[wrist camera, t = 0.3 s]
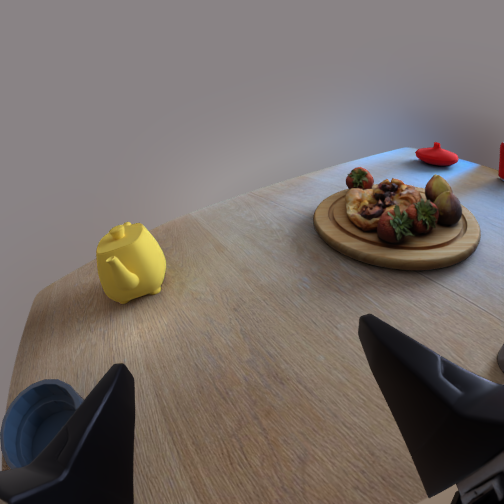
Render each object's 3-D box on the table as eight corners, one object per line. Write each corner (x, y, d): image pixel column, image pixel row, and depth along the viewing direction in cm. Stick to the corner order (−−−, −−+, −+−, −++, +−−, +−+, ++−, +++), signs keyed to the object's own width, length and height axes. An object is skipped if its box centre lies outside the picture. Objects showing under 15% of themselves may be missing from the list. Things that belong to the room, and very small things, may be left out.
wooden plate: (300, 203, 62) (296, 167, 58) (423, 187, 59) (424, 155, 55) (341, 294, 34) (340, 236, 30) (510, 253, 32) (520, 207, 27)
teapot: (176, 312, 37) (147, 243, 31) (105, 333, 35) (68, 270, 29) (169, 253, 52) (151, 201, 47) (116, 270, 50) (95, 220, 45)
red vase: (438, 172, 68) (438, 149, 65) (406, 160, 82) (405, 140, 78) (466, 167, 70) (467, 147, 66) (435, 156, 83) (435, 138, 80)
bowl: (106, 507, 14) (72, 493, 11) (21, 483, 13) (-10, 463, 11) (118, 403, 24) (94, 377, 22) (41, 402, 24) (18, 378, 22)
